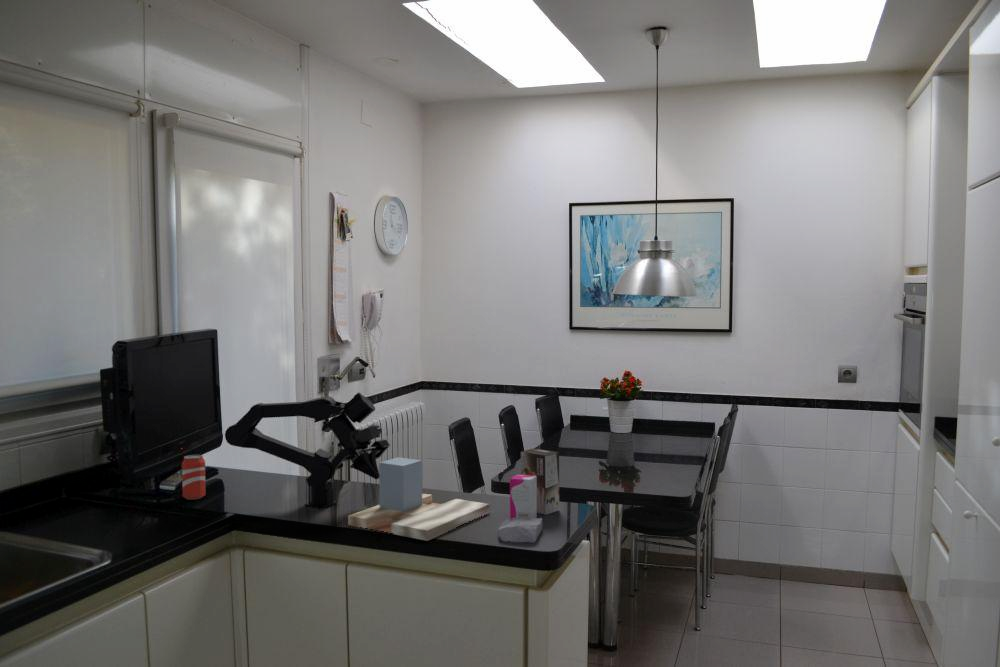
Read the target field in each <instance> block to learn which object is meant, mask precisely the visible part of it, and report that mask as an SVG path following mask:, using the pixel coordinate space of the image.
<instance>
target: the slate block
mask: <svg viewBox="0 0 1000 667" xmlns="http://www.w3.org/2000/svg"><path fill="white" fill-rule="evenodd" d="M378 471H379V478H378V480H379V482H378V483H379V489H378V490H379V494H378V495H379V496H378V497H379V505H380V508H384V509H390V510H396V511H401V512H405V511H407V510H410V509H413V508H415V507H418V506H421V505H422V493H423V460H421V459H415V458H406V457H399V456H398V457H395V458H391V459H387V460H383V461H380V462H379V464H378Z"/></svg>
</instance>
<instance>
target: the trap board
mask: <svg viewBox="0 0 1000 667" xmlns="http://www.w3.org/2000/svg"><path fill="white" fill-rule="evenodd" d="M490 505H491V504H490V503H485V502H479V501H472V500H466V499H461V498H454V499H452V500H449V501H446V502H443V503H437V502H433V494H430V493H423V492H422V505H421V506H418V507H415V508H413V509H410V510H407V511H405V512H401V511H396V510H390V509H384V508H380V504H377V505H374V506H372V507H371V506H370V507H369V508H366V509H363V510H361V511H357V512H354V513H351V514H349V515H347V520H348V521H347V523H348V524H347V525H348V526H350V525H351V526H350V527H356V528H360V527H362V528H361V529H365V528H368V529H367V530H370V529H374V530H373V531H375V530H380V531H384V532H383V533H385V532H388V533H387V534H390V533H393V534H392V535H396V536H401V537H406V538H411V539H416V540H421V541H425V542H426V541H427V542H428V541H431V540H433V539H435V538H437V537H439V536H442V535H444V534H446V533H448V531H449V532H450V530H451V531H453V530H455V529H457V528H456V527H458V526H460V525H462V524H464V523H467V522H469V521H471V522H473V521H475V520H474V519H476V518H478V519H479V517H480V518H482V517H484V515H485V516H486V514H487V515H489V514H490V513H491V512H490V511H491V510H490V508H491V507H490ZM481 516H482V517H481ZM387 519H392V520H393V521H394V522H393V521H391V523H388V522H390V521H388V522H387V521H386V520H387ZM395 520H398V521H397V522H396V521H395ZM472 520H473V521H472ZM476 520H477V519H476ZM382 521H383V522H382ZM384 521H385V522H384ZM469 523H470V522H469ZM467 524H468V523H467ZM464 525H465V524H464ZM462 526H463V525H462ZM460 527H461V526H460ZM454 528H455V529H454ZM458 528H459V527H458ZM452 529H453V530H452ZM380 531H379V532H380Z"/></svg>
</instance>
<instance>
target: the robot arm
mask: <svg viewBox="0 0 1000 667" xmlns="http://www.w3.org/2000/svg"><path fill="white" fill-rule="evenodd" d="M375 411H376V406H375V405H374V404H373V402H372V401H371V400H370V399H369V398H367V397H366V396H365V395H363V394H362V393H361V392H356V394H355V395H353V397H352V398H351V399H350V400H349V401H348V402H347V403H346V402H342V401H338V400H335V398H333V397H332V396H330V395H327V396H326V395H325V396H321V397H316V398H312V399H309V400H305V401H304V400H303V401H292V402H276V403H275V402H273V403H272V402H271V403H263V402H258V403H256V404H254V405H252V406H251V407H250V409H249V410H247V413H246V414H244V415H243V416H242V417H241V418H240V419H239V420H238V421H237V422H236V423H234V424H232V425H230V426H229V427H227V429H226V430H225V433H224V438H225V440H226V443H227V444H228V445H230V446H232V447H238V448H243V449H255V450H259V451H261V452H263V453H267V454H269V455H272V456H275V457H276V458H279V459H282V460H285V461H287V462H290V463H292V464H294V465H297V466H300V467H302V468H303V469H305V470H306V471H307V472H308V473H309V474H310V475H309V476H308V477H307V478H306V483H307V485H308V488H307V490H308V493H307V494H308V502H305V503H304V506H306V507H311V506H312V508H316V507H317V508H318V509H324V508H326V507H330V506H332V505H336V504H337V503H338V502H337V501H336V500H334V495H335V494H334V493H335V492H334V487H333V484H334V483H333V482H332V480H333V477H334V476H335V475H336V474H337V473H338V471H339V470H341V469H343V467H344V463H343V462H348V461H350V462H351V463H352V464H351V465H350V466H349V467H350V469H354V470H355V471H356V470H357V471H359V472H361V473H363V474H364V475H367V476H368V477H371V478H373V479H375V480H379V467H378V465H377V459H379V458H381V456H383V455H384V453H385V452H386V451H387V450H388V449H389V448H390V446H391V444H390V443H389V441H388V440H387V439H379V440H375V441H374V442H373V441H372V440H374V439H377V438H380V437H381V434H382V431H383V429H382V428H381V426H380V425H379V423H372V424H371V425H369V426H368V427H365V428H363V429H361V428H359V429H357V428H356V427H355V425H354V424H356V423H358V424H361V423H362V422H363V421H365V420H366V419H367V418H368V417H369V416H371V414H372V413H374V412H375ZM333 415H334V416H333ZM332 416H333V417H332ZM287 417H289V418H290V417H303V418H304V417H306V418H309V419H314V420H327V419H329V418H330V417H332V418H331V419H329V420H328V421H322V422H323V423H322V427H321V431H322V432H326V433H330V431H331V432H332V433H333V435H334V436H335V438H336V439H337V441H338V443H337V447H338V448H341V449H339V450H338V451H337V453H336V454H335V455H334V452H328V451H326V450H324V449H323V448H319V449H317V450H316V451H315V452H313V451H312V452H311V451H307V450H305V449H303V448H300V447H297V446H294V445H292V444H289V443H287V442H284V441H281V440H279V439H276V438H274V437H271V436H268V435H265V434H263V432H262V431H260V429H258V428H257V426H258V425H259V424H260V422H261V420H262V419H266V418H267V419H269V418H287ZM372 442H373V443H372Z"/></svg>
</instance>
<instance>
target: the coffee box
mask: <svg viewBox="0 0 1000 667" xmlns="http://www.w3.org/2000/svg"><path fill="white" fill-rule="evenodd" d="M520 475H533V476H537V514H540V515H550V514H553V513H557V512H559V511H560V452H559V451H552V450H546V449H542V448H531V449H525V450H522V451H520Z"/></svg>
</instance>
